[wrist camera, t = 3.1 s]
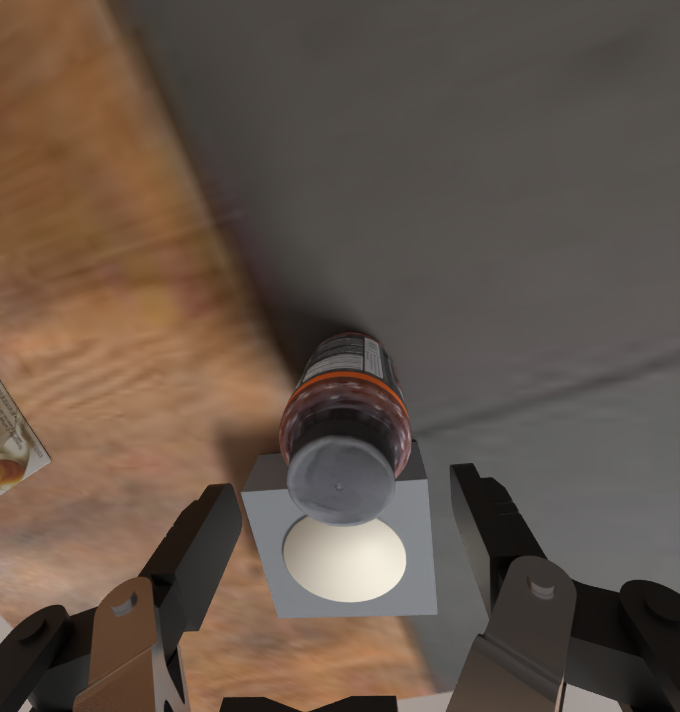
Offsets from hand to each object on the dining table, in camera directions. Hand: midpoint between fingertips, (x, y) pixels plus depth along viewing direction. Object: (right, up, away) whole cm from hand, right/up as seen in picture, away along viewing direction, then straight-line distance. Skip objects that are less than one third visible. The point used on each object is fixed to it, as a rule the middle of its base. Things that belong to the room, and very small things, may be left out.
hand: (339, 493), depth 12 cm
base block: (+1, -8, +14) cm, 16 cm away
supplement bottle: (+1, +4, +11) cm, 11 cm away
